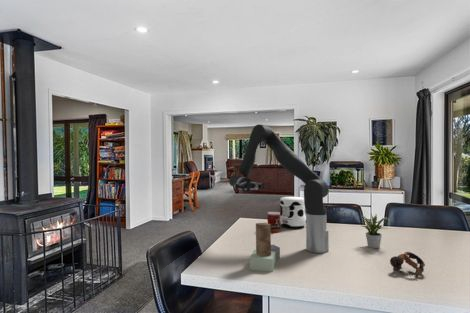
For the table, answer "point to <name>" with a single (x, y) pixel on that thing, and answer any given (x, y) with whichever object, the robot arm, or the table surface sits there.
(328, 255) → the table surface
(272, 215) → the canned food
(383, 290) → the table surface
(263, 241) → the walnut post
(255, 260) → the sage block
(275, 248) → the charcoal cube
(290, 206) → the milk container
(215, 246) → the table surface
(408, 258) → the brown arched piece
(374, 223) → the house plant
